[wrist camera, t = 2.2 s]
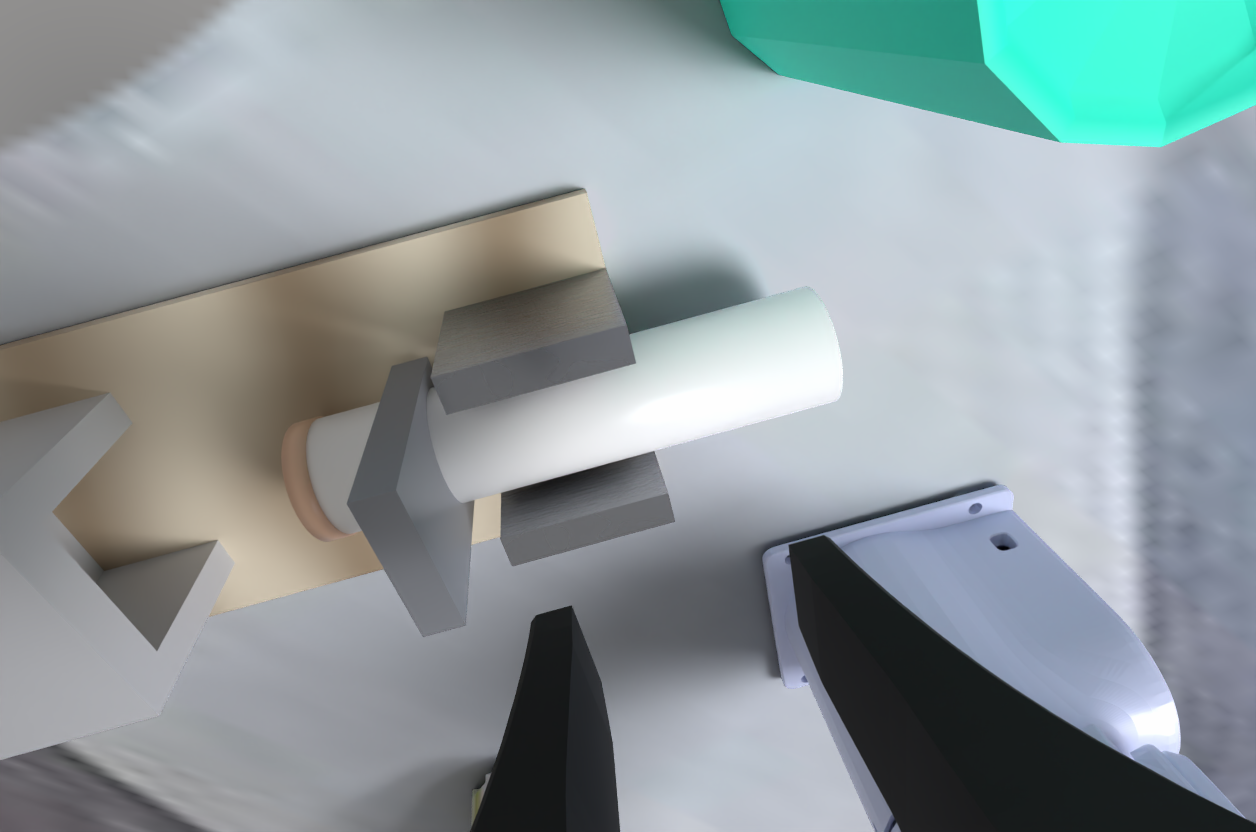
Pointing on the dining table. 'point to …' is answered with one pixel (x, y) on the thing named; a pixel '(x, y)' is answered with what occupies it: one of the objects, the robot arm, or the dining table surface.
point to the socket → (84, 593)
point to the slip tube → (543, 436)
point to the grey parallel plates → (540, 358)
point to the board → (271, 389)
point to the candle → (1023, 60)
